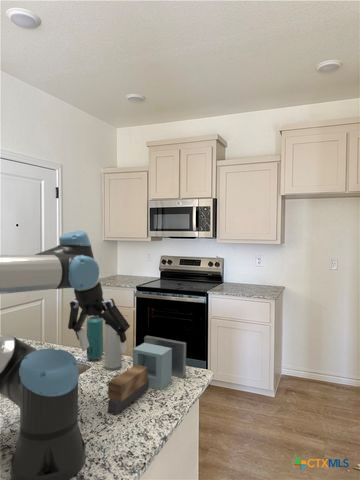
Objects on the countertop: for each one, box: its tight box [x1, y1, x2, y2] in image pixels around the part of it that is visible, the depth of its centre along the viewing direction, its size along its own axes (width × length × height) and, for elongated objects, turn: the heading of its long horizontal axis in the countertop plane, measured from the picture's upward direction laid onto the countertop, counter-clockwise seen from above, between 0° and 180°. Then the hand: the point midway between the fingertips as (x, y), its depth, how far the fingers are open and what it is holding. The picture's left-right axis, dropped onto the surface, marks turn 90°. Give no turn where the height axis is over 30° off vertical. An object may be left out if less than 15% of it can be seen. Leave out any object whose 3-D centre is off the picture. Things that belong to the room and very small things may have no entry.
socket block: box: [132, 342, 172, 391], centre depth 111 cm, size 7×11×11 cm, turn 64°
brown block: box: [107, 365, 148, 402], centre depth 99 cm, size 14×4×4 cm, turn 154°
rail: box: [107, 378, 150, 416], centre depth 100 cm, size 17×3×4 cm, turn 154°
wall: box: [143, 335, 187, 379], centre depth 119 cm, size 2×16×12 cm, turn 64°
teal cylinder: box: [85, 315, 104, 359], centre depth 130 cm, size 6×7×20 cm
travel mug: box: [103, 320, 123, 371], centre depth 123 cm, size 6×7×20 cm
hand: (104, 349), depth 100 cm, fingers open, 13 cm apart
